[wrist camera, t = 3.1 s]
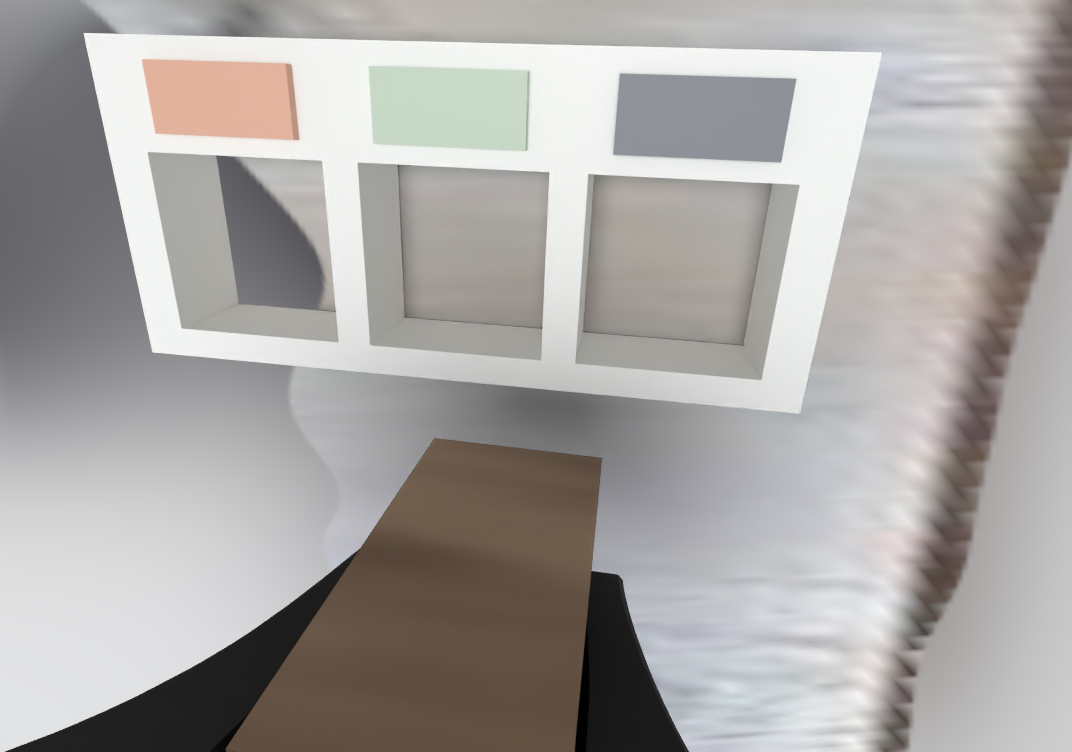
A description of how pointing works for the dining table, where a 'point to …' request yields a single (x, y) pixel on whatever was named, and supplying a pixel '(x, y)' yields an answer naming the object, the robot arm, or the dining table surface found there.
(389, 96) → the socket strip
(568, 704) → the plug
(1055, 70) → the dining table surface
